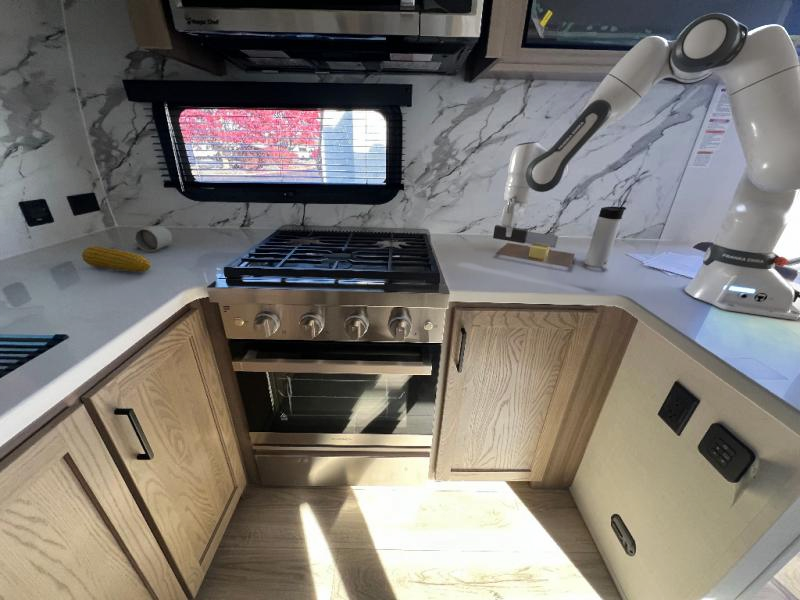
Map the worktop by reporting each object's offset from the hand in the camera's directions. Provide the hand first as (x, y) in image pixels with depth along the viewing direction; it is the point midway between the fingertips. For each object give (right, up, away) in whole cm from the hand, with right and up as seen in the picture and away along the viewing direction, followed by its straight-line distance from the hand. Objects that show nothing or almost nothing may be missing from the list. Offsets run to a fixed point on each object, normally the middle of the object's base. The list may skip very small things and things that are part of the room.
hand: (510, 235), depth 117 cm
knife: (+4, -3, -1) cm, 5 cm away
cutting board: (+9, -8, 0) cm, 12 cm away
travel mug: (+25, -13, -8) cm, 30 cm away
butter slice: (+8, -8, -4) cm, 12 cm away
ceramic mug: (-123, -6, -5) cm, 123 cm away
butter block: (+11, -6, +1) cm, 13 cm away
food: (-119, -14, -23) cm, 122 cm away
